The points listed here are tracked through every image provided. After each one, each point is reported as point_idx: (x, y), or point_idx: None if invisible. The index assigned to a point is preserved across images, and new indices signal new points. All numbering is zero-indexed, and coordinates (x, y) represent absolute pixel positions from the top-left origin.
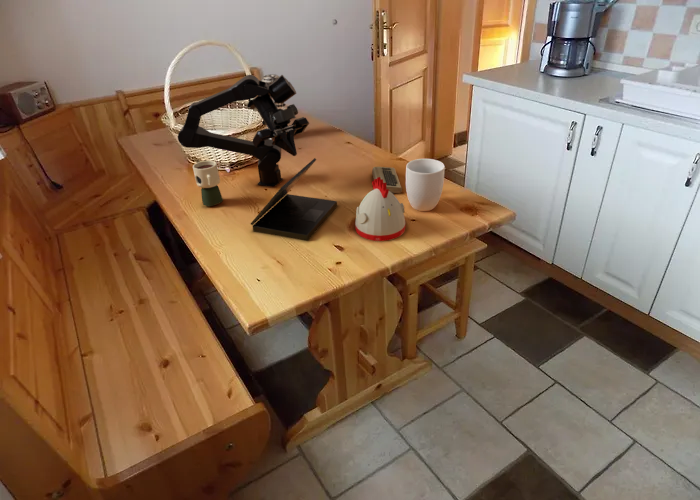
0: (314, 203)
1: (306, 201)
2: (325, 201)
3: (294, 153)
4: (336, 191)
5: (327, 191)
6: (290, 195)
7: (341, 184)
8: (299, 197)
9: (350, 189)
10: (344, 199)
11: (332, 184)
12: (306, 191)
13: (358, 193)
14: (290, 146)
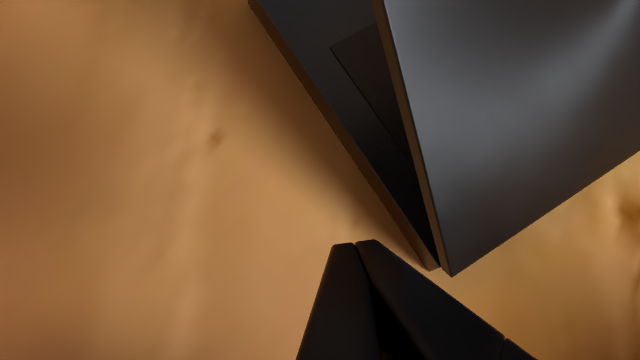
0: (366, 34)
1: (390, 85)
2: (298, 18)
3: (379, 242)
4: (118, 152)
5: (160, 191)
6: (430, 229)
7: (14, 216)
8: (395, 163)
9: (34, 116)
10: (161, 39)
11: (57, 260)
12: (265, 289)
13: (45, 44)
14: (436, 322)
